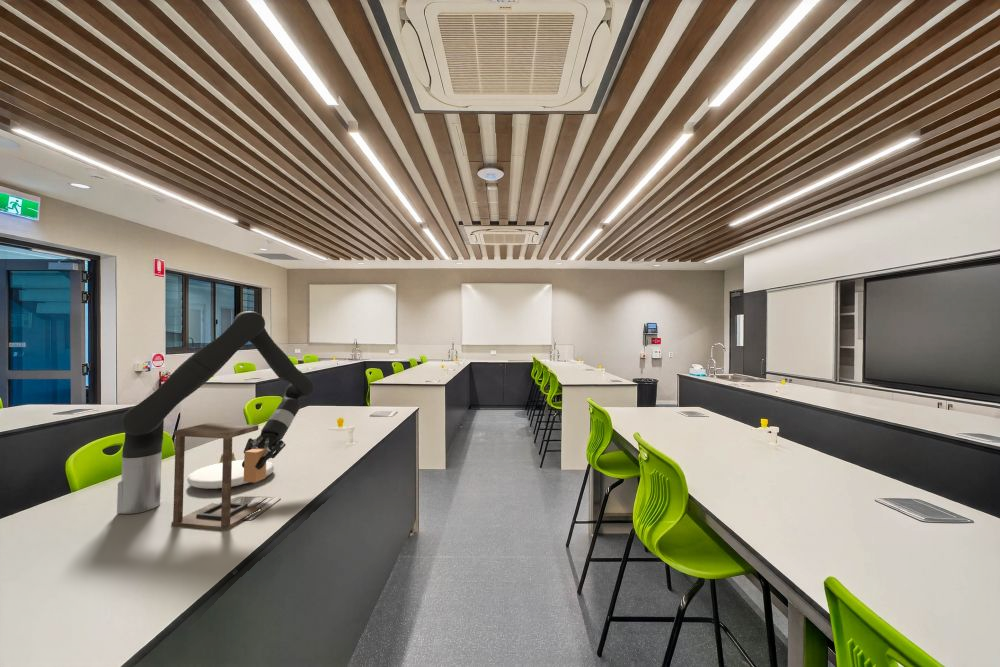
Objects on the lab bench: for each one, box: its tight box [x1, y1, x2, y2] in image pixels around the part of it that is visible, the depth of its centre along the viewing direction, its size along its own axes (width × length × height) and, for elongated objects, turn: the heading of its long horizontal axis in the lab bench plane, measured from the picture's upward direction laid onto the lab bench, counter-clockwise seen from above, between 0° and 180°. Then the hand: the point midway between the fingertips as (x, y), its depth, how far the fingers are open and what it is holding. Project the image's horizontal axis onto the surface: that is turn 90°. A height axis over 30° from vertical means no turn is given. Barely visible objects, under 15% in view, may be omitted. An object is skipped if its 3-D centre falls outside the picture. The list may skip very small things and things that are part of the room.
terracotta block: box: [243, 448, 267, 483], centre depth 128 cm, size 4×4×10 cm
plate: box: [186, 459, 275, 490], centre depth 145 cm, size 28×6×27 cm
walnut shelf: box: [171, 422, 262, 532], centre depth 115 cm, size 13×18×28 cm
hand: (250, 467), depth 126 cm, fingers closed on terracotta block, 4 cm apart
